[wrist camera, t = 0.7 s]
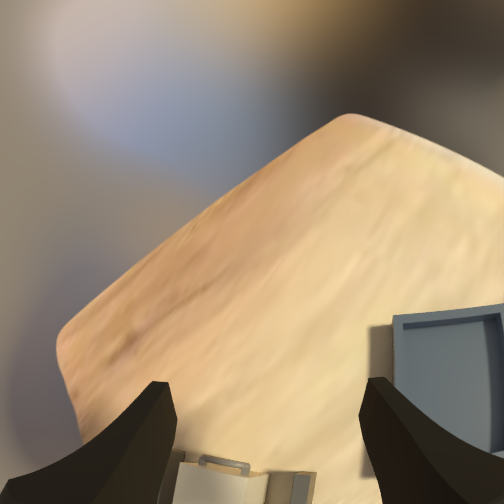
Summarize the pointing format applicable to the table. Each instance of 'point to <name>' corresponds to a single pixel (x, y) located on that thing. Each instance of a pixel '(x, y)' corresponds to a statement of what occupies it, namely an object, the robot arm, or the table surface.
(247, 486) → the box
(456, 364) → the tray
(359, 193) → the table surface
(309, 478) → the dock
